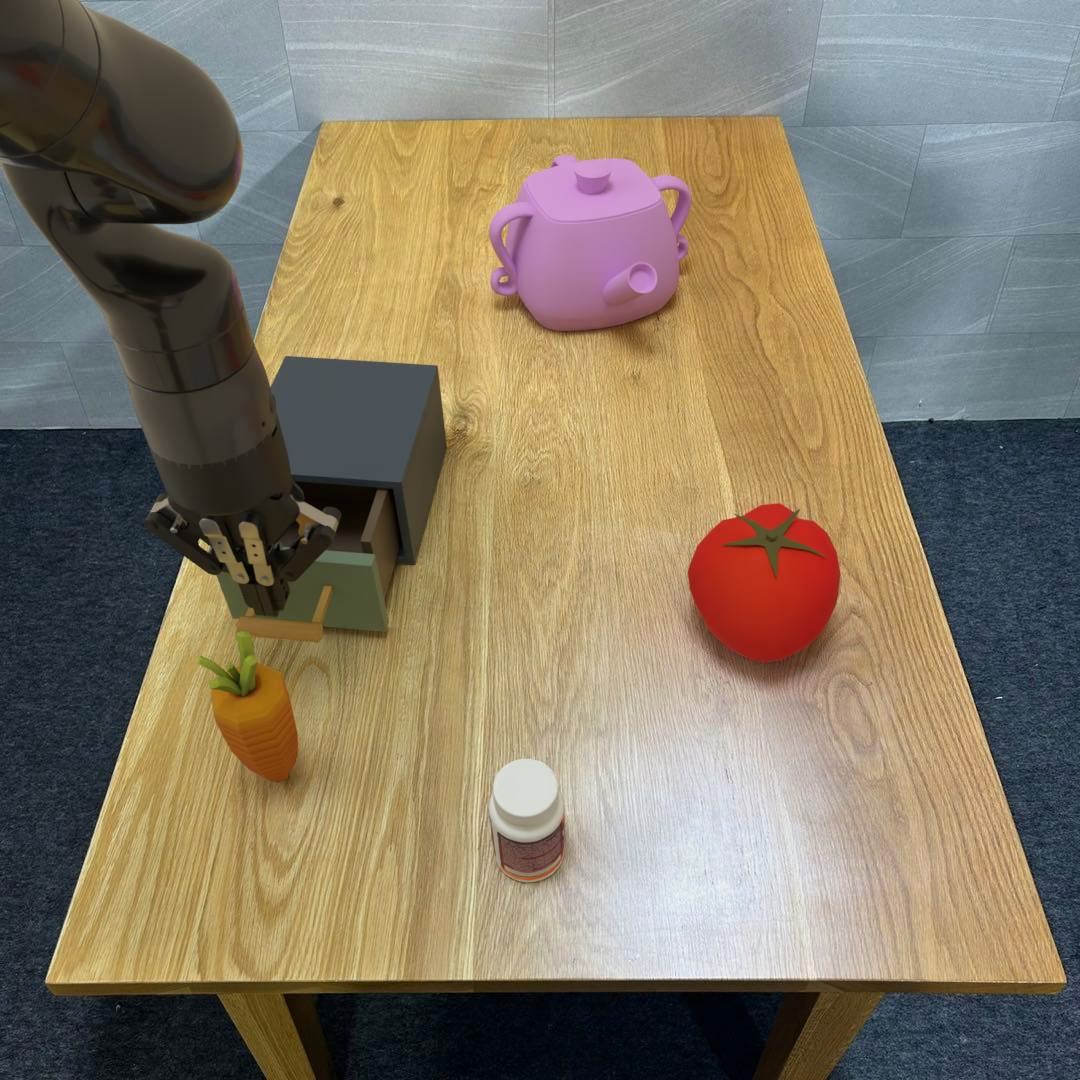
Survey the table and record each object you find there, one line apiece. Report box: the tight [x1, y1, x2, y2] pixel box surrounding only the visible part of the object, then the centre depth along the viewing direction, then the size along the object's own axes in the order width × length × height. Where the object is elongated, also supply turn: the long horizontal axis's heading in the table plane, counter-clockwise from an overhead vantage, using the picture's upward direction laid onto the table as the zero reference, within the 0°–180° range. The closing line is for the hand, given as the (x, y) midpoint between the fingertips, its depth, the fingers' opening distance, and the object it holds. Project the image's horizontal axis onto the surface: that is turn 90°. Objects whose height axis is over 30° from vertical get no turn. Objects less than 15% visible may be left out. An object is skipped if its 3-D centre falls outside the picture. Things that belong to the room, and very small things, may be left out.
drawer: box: [207, 481, 402, 644], centre depth 81 cm, size 18×12×8 cm
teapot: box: [488, 154, 693, 332], centre depth 108 cm, size 19×21×14 cm
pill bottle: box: [487, 758, 566, 883], centre depth 66 cm, size 5×5×8 cm
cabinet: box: [270, 355, 448, 566], centre depth 88 cm, size 15×14×10 cm
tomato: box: [687, 502, 841, 663], centre depth 78 cm, size 11×13×10 cm
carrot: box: [197, 631, 299, 783], centre depth 67 cm, size 5×5×15 cm
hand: (271, 606), depth 73 cm, fingers closed
